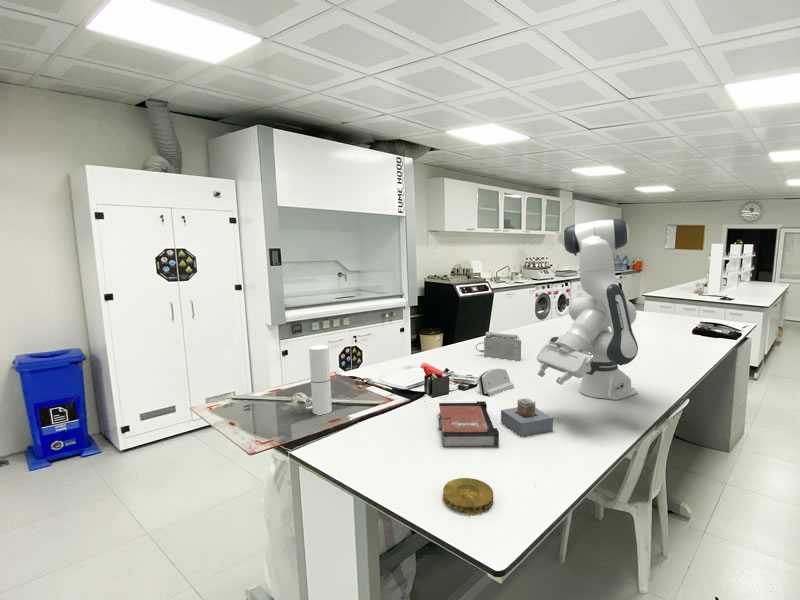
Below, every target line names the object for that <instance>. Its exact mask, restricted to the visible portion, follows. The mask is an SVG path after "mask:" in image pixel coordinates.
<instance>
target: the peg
mask: <svg viewBox="0 0 800 600" xmlns="http://www.w3.org/2000/svg"><path fill="white" fill-rule="evenodd" d="M517 407H518V415H520V416H522V417H523V418H527V417H533V416H535V408H536V401H534V400H532V399H530V398H528V397H527V398H521V399H517Z"/></svg>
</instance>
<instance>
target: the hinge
mask: <svg viewBox="0 0 800 600" xmlns="http://www.w3.org/2000/svg"><path fill="white" fill-rule="evenodd" d="M477 383H478V389H479V393H480V394H479V395H483V394H484V395H485V394H486V395H487V394H488V397H489V396H491V397H494V396H496V395H495V394H497V395H499V394H498V393H500V394H502V393H504V392H503V391H505V392H507V391H506V390H508V391H510V390H509V389H511V390H513V389H515V386H514V383H513V382H511V380H510V377H509V374H508V372H507V370H506V369H504V368H493V369H492V368H491V369H488V370H486V371H484V372H483V373H481V374H480V375H479V376H478V377H477ZM512 388H513V389H512ZM501 392H502V393H501ZM493 395H494V396H493Z"/></svg>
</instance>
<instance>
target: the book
mask: <svg viewBox="0 0 800 600" xmlns="http://www.w3.org/2000/svg"><path fill="white" fill-rule="evenodd" d="M487 408H488V406H487V402H486V401H484V400H482V401H478V400H477V401H476V402H439V418H438V429H439V430H441V439H442V445H443V448H499V445H500V440H499V439H500V432H499V430H498V428H497V427H494V425H493V422H492V420H491V418H490V415H489V413H488V409H487Z"/></svg>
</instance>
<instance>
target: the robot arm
mask: <svg viewBox="0 0 800 600" xmlns="http://www.w3.org/2000/svg"><path fill="white" fill-rule="evenodd" d="M629 239H630V228H629V226H628V223H627V221H626V220H624V219H622V218H613V219H598V220H594V221H587V222H584V223H578V224H572V225H569V226H567V227H565V228H564V230H563V233H562V239H561V241H562V246H563V247H564V249H565V251H566V252H567V253H569V254H573V256H575V257H576V256H577V254H579V267H578V268H579V269H578V270H579V280H580V285H581V288H582V290H583V291H584V292H585V293H586V294H587V295H589V296H581V297H580V296H579V297H575V298H574V299H572V301H571V302H570V303H569V306H568V313H569V316H570V318H571V320H573V323H572V325H571V327H570V329H569V330H567V331H566V332H565V333H564V335H559V336H551V337H550V338H548V340H547V341H548V343H546V344H545V345H543V347H542V348H541V349H540V351H539V352H538V354H537V355H536V360H537V362H538V363H539V364H540V365H539V370H538V371H537V376H539V377H541V378H543V377H544V376H545V375H546V372H545V371H546V370H548V368H551V369H552V370H556V371H559V372H561V373H564V374H562V376H558V377H557V379H556V380H555V382H556V383H557V384H559V385H561V386H563V385H564V384H565V382H567V381H568V380H570V379H571V378H572V377H574V378H577V379H581V383H580V386H579V390H578V391H579V392H580V393H581V394H582V395H584V396H587V397H591V398H596V399H607V400H611V401H612V400H613V401H619V400H621V399H625V398H628V397H631V396H635V395H637V394H638V393H639V391H638V390H637V389H636V388H634V387H632V380H631V377H630V376H628V375H627V374H626V373H624V372H623V371H622V370H620V369H619V367H618V366H620V367H622V366H625V365H628V364H630V363H631V362H632V361H633V360H635V358H636V357H637V355H638V351H639V346H638V345H639V344H638V342H637V339H636V337H635V335H634V332H633V329H632V325H633V323H634V322H635V321H636V319H637V309H636V307H635V305H634V304H633V303H632V302H631V301H630V300H629V299H627V298H626V296H625V293H624V290H623V289H622V287H621V286H620V285H619V283H618V281H617V276H616V271H615V262H614V261H615V259H614V257H613V256H614V255H613V252H612V251H613V250H612V249H614V250H615V251H616V250H618V249H621V248H623V247H624V246H626V245H627V243H628V240H629ZM609 327H610V328H609Z"/></svg>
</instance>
